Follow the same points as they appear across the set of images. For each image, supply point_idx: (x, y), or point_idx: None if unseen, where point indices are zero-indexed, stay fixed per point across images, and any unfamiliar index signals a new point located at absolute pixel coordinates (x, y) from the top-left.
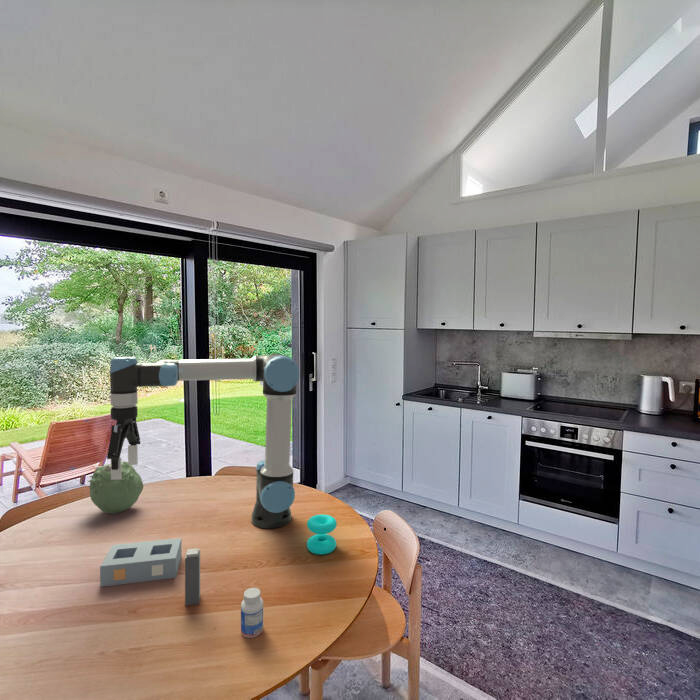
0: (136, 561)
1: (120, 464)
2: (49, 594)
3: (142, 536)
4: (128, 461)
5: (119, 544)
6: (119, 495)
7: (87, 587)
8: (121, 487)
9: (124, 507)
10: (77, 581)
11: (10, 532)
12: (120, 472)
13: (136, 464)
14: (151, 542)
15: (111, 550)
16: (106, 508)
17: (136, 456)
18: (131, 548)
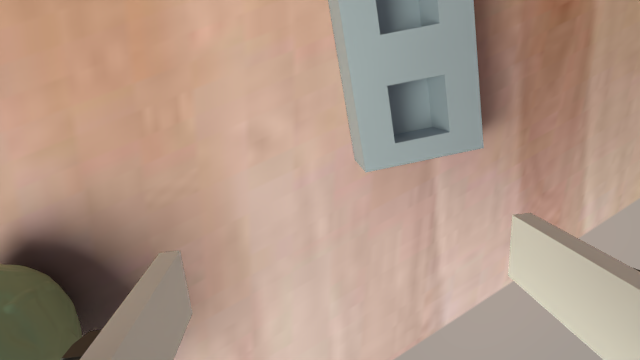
0: (471, 51)
1: (634, 271)
2: (470, 234)
3: (201, 145)
4: (183, 331)
5: (364, 152)
6: (39, 317)
7: (454, 168)
8: (5, 334)
9: (49, 279)
10: (427, 204)
11: None
12: (569, 235)
13: (180, 253)
14: (356, 51)
15: (399, 159)
16: (78, 327)
17: (152, 295)
18: (389, 103)
